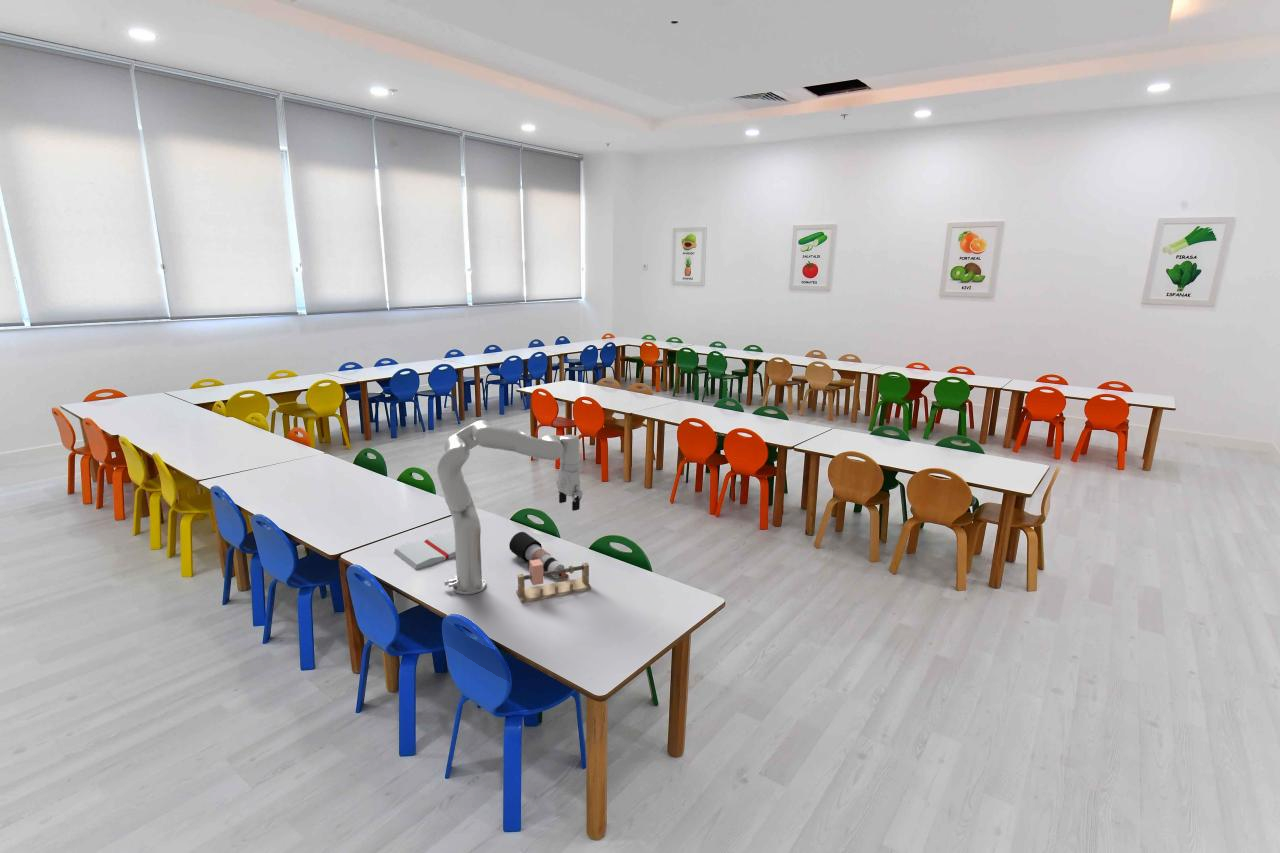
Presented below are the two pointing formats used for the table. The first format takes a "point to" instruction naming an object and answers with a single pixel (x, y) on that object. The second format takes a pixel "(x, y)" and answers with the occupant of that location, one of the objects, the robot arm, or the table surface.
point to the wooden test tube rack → (554, 585)
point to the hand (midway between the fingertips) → (569, 506)
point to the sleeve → (536, 571)
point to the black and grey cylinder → (534, 553)
